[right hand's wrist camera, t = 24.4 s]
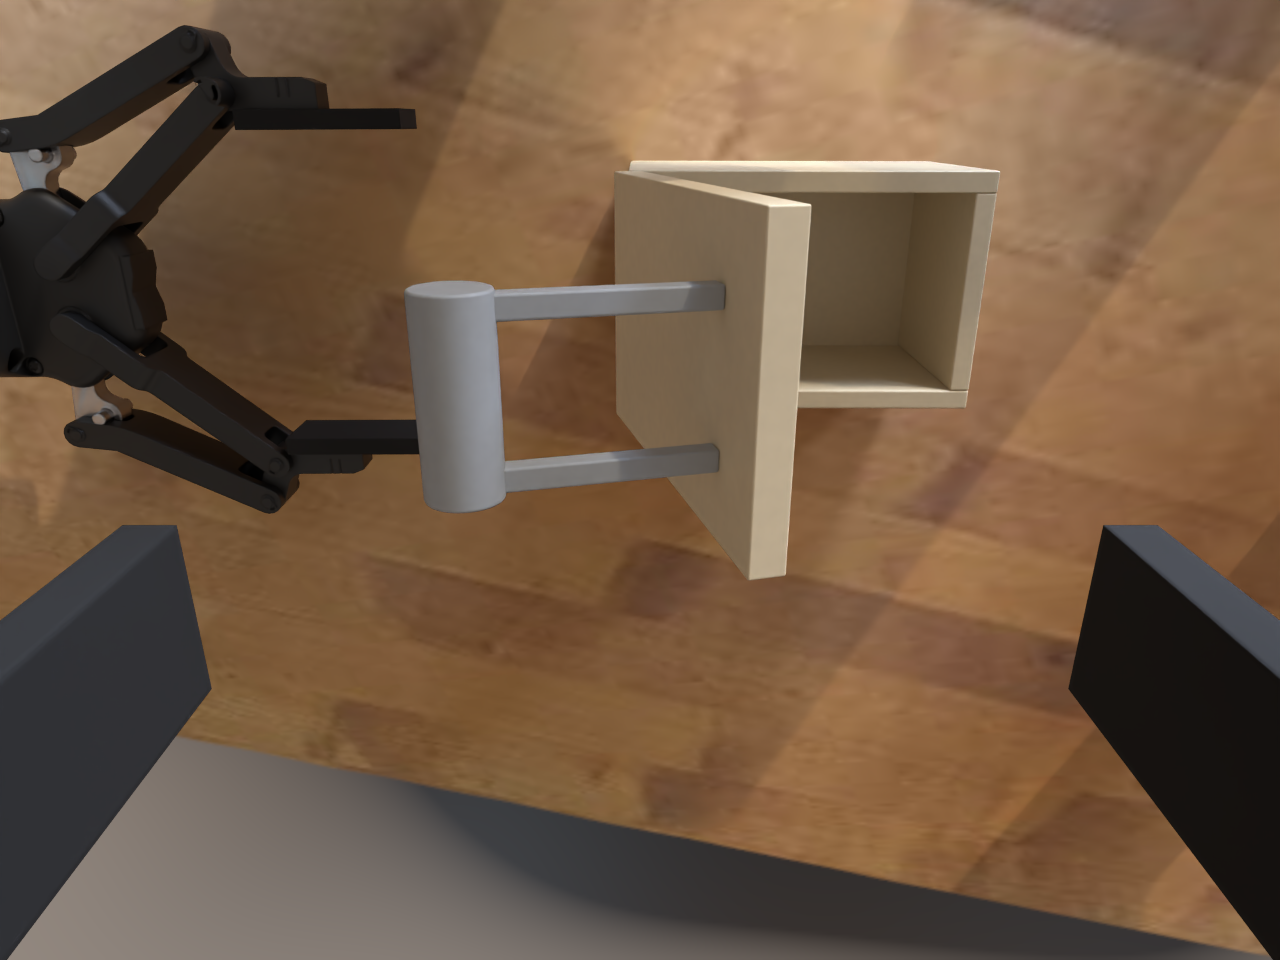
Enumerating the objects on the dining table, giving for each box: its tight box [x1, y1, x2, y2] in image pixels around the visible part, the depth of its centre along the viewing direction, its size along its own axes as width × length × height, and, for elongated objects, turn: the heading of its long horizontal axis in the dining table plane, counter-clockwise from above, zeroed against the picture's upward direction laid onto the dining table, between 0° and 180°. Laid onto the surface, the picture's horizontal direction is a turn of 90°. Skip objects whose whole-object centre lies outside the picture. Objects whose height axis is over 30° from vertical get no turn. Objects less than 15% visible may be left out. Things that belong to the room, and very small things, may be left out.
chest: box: [629, 161, 1000, 408], centre depth 40 cm, size 14×10×9 cm, turn 90°
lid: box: [404, 171, 811, 580], centre depth 28 cm, size 15×10×9 cm
